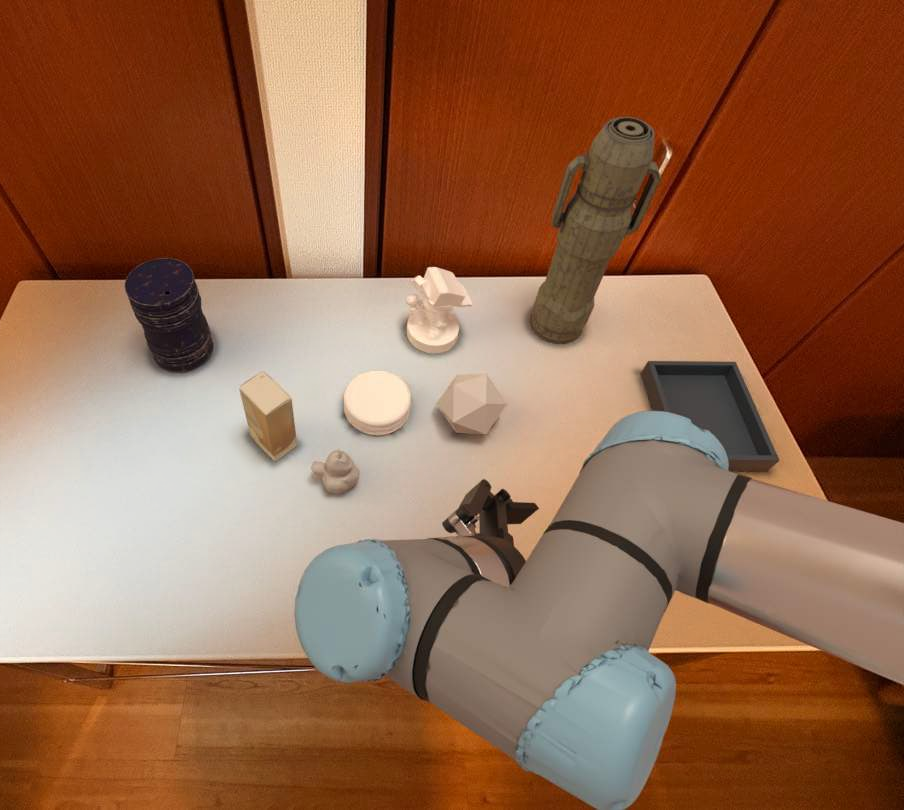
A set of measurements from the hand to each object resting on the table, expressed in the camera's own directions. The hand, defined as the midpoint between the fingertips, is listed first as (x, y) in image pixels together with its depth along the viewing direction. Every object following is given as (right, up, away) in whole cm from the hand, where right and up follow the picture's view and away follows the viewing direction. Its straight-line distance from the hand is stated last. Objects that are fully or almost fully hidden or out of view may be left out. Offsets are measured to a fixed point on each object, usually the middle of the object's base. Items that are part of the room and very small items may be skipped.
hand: (569, 567), depth 62 cm
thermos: (+12, +30, +41) cm, 52 cm away
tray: (+30, +14, +30) cm, 45 cm away
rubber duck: (-25, +6, +24) cm, 35 cm away
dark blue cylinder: (-50, +25, +38) cm, 67 cm away
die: (-5, +14, +30) cm, 34 cm away
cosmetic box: (-34, +11, +28) cm, 45 cm away
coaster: (-19, +16, +31) cm, 39 cm away
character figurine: (-9, +28, +40) cm, 50 cm away
